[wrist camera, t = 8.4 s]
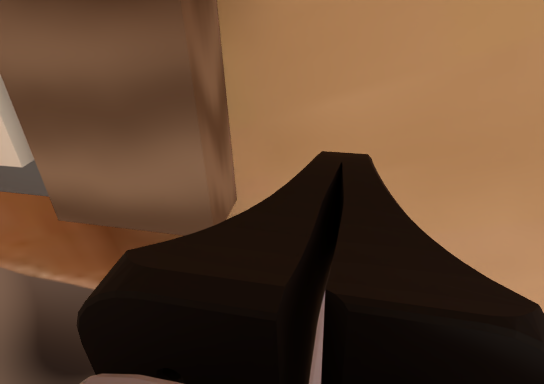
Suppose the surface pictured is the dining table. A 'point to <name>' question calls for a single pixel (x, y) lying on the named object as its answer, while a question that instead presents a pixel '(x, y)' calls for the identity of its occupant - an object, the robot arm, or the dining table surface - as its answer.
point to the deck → (123, 109)
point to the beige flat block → (11, 134)
